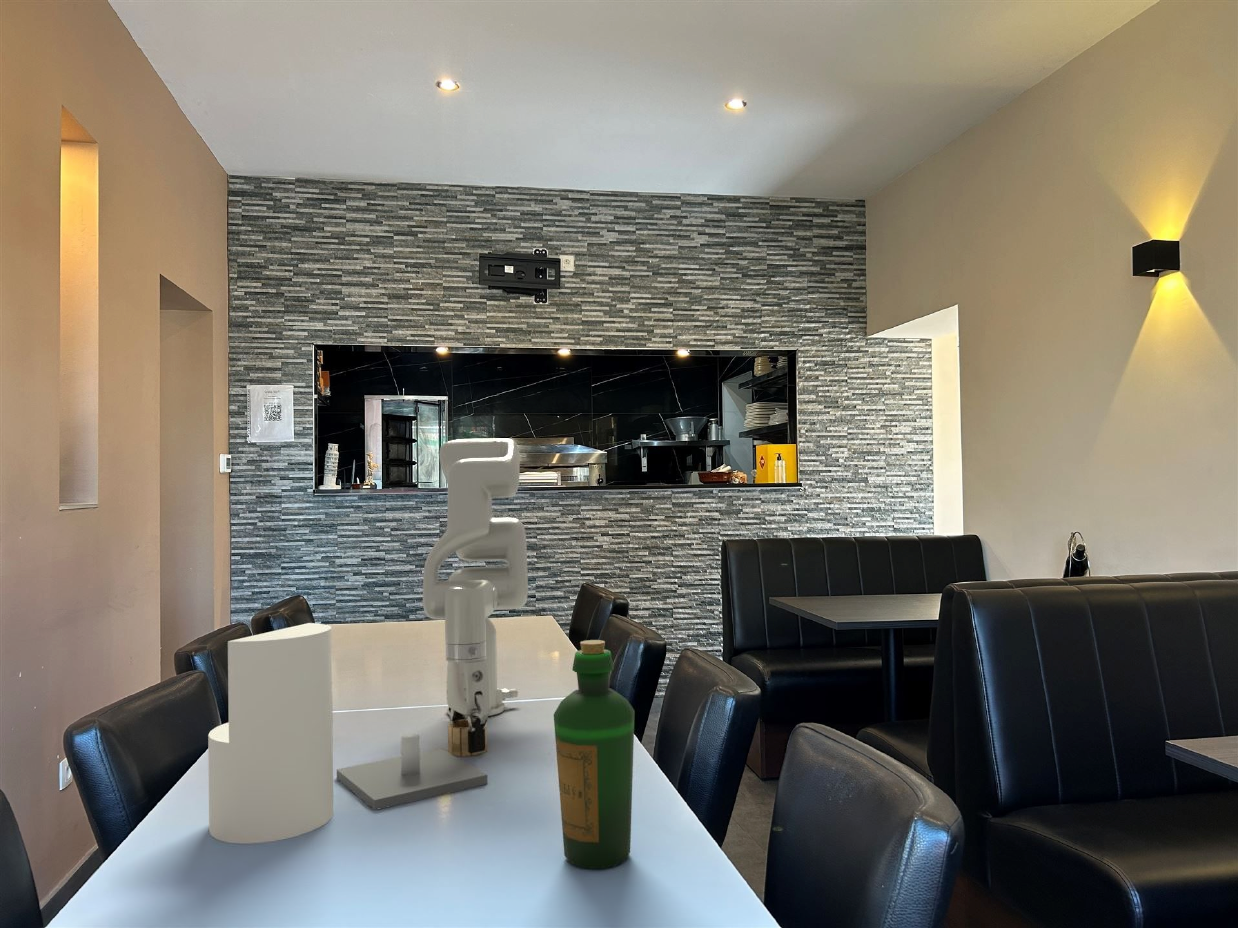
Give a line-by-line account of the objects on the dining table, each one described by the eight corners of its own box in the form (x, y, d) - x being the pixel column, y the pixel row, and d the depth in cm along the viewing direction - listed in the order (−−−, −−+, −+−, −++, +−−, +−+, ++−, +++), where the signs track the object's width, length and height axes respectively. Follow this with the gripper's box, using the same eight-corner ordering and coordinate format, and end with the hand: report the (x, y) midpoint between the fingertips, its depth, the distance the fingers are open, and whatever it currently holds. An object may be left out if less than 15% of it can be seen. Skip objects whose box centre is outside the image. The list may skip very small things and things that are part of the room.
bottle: (556, 843, 119) (551, 636, 120) (633, 838, 120) (629, 634, 121) (557, 877, 109) (552, 650, 110) (642, 872, 110) (637, 647, 111)
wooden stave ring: (476, 742, 169) (476, 716, 169) (493, 751, 163) (492, 724, 163) (442, 749, 165) (442, 722, 165) (458, 758, 159) (457, 730, 159)
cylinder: (357, 805, 136) (354, 624, 137) (280, 849, 120) (278, 643, 121) (267, 795, 142) (264, 621, 143) (181, 835, 125) (179, 639, 126)
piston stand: (441, 756, 160) (440, 715, 161) (487, 783, 145) (486, 737, 145) (336, 778, 149) (336, 733, 150) (374, 809, 134) (373, 760, 134)
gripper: (505, 655, 159) (507, 753, 159) (464, 642, 174) (466, 733, 173) (467, 660, 155) (469, 761, 155) (429, 647, 169) (430, 740, 169)
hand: (467, 746), depth 164 cm, fingers closed on wooden stave ring, 7 cm apart
